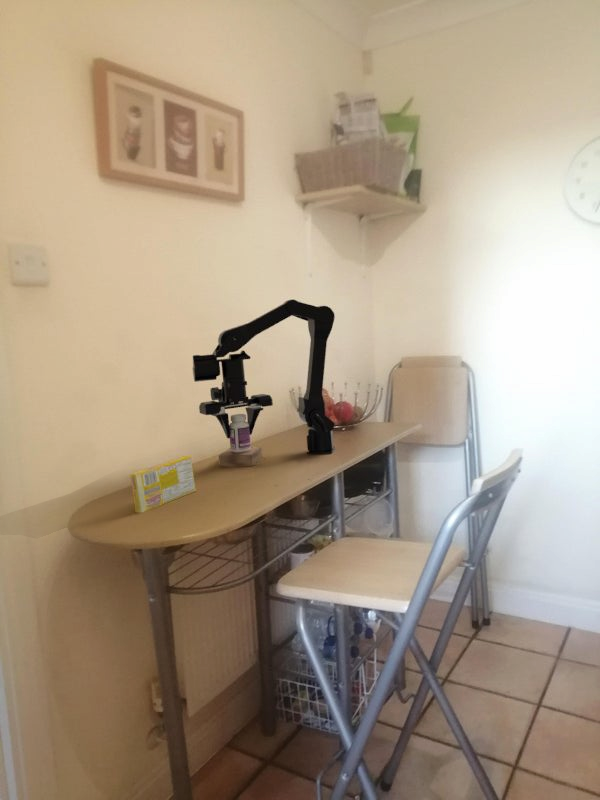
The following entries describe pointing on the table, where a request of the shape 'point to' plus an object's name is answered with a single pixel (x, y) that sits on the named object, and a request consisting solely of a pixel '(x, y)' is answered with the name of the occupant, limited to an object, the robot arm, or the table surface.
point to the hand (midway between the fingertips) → (239, 436)
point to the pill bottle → (239, 434)
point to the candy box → (162, 483)
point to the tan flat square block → (240, 457)
